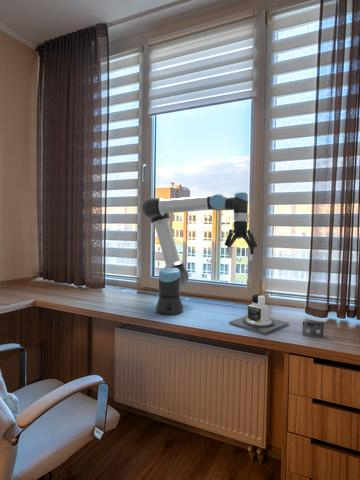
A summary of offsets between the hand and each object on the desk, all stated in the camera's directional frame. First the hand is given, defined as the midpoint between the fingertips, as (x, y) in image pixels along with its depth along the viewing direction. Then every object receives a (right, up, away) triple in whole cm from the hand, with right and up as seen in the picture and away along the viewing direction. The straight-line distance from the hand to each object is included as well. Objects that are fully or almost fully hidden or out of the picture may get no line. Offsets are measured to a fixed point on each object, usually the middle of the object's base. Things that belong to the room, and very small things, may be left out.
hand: (240, 259), depth 172 cm
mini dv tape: (+24, -31, -37) cm, 54 cm away
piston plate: (+5, -30, -23) cm, 38 cm away
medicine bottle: (+4, -28, -23) cm, 36 cm away
